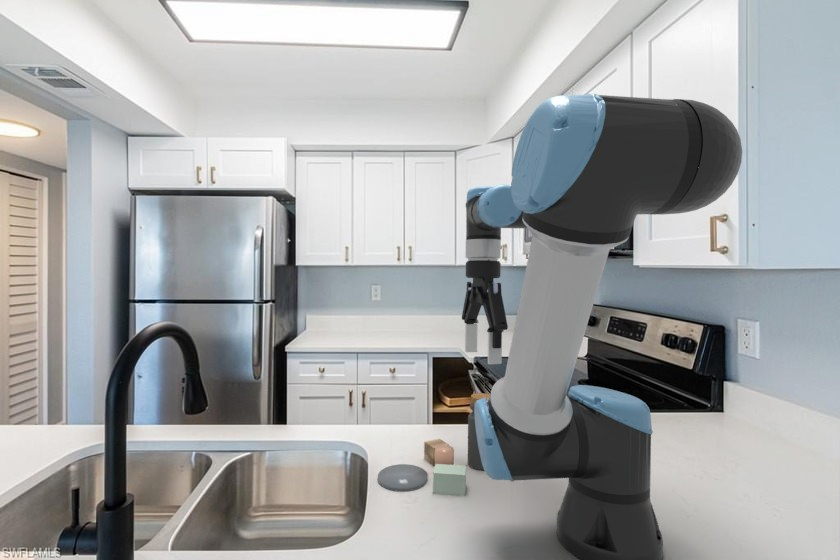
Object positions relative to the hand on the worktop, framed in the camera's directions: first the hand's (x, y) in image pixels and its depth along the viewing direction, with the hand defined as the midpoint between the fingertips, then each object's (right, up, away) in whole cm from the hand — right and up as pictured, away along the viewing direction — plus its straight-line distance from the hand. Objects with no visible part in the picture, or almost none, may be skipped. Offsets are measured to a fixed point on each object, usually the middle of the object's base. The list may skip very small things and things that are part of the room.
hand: (482, 357), depth 94 cm
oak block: (-10, -23, +2) cm, 25 cm away
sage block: (-8, -24, -11) cm, 27 cm away
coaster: (-17, -23, -7) cm, 30 cm away
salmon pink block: (-8, -23, -4) cm, 25 cm away
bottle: (0, -24, 0) cm, 24 cm away
